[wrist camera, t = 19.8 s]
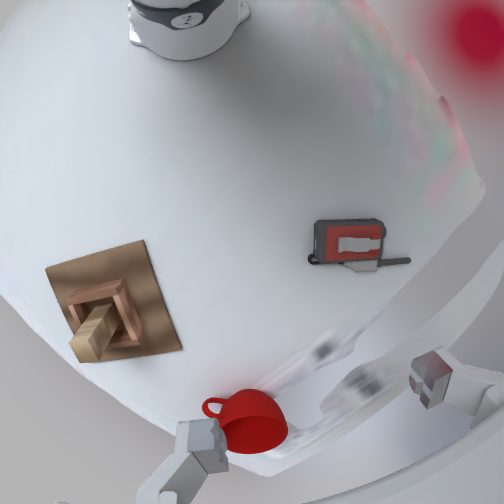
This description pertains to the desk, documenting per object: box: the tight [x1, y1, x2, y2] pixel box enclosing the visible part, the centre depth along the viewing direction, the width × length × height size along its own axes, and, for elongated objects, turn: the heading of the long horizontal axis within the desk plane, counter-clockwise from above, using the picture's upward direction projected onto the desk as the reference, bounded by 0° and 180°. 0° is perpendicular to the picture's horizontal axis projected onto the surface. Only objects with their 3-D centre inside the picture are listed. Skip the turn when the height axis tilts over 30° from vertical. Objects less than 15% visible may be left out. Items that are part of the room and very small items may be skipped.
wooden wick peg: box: [69, 301, 122, 363], centre depth 39 cm, size 4×4×12 cm
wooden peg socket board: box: [45, 240, 182, 363], centre depth 43 cm, size 20×20×5 cm
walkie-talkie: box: [308, 218, 411, 272], centre depth 45 cm, size 9×4×20 cm
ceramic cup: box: [202, 389, 288, 454], centre depth 49 cm, size 13×17×10 cm
